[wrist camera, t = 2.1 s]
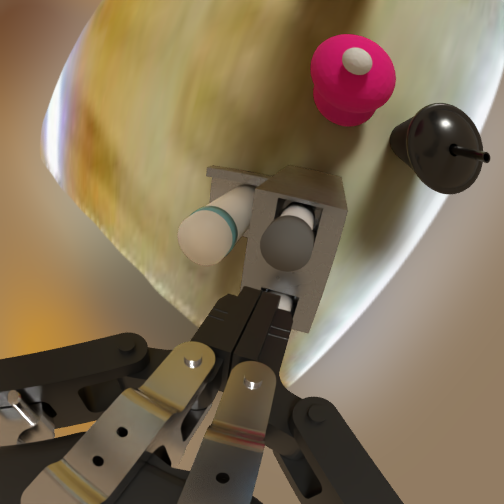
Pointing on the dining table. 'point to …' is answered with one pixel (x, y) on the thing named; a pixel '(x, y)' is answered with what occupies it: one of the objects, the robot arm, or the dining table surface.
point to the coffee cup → (217, 226)
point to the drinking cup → (441, 147)
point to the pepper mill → (351, 79)
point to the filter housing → (271, 207)
